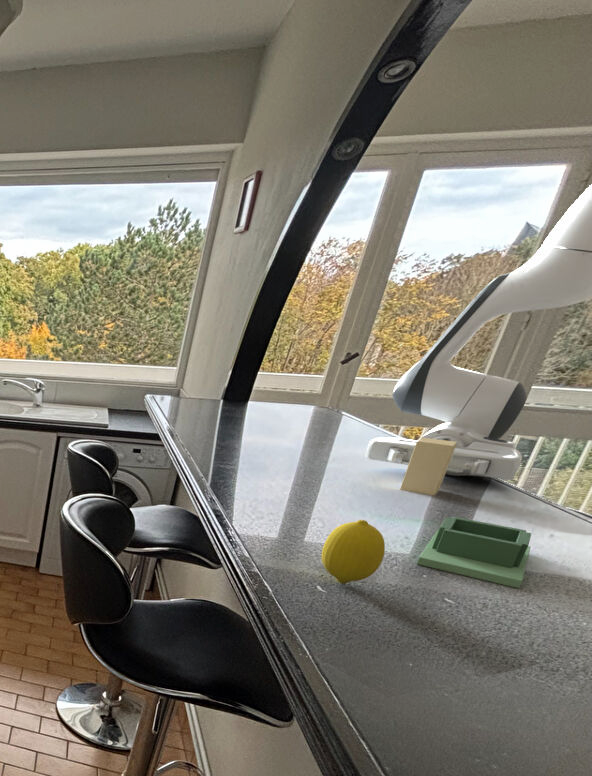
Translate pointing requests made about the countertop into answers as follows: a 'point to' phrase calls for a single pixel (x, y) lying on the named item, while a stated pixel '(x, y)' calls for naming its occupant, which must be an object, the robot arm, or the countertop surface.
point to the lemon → (353, 551)
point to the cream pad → (428, 465)
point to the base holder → (479, 551)
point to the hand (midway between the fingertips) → (432, 463)
